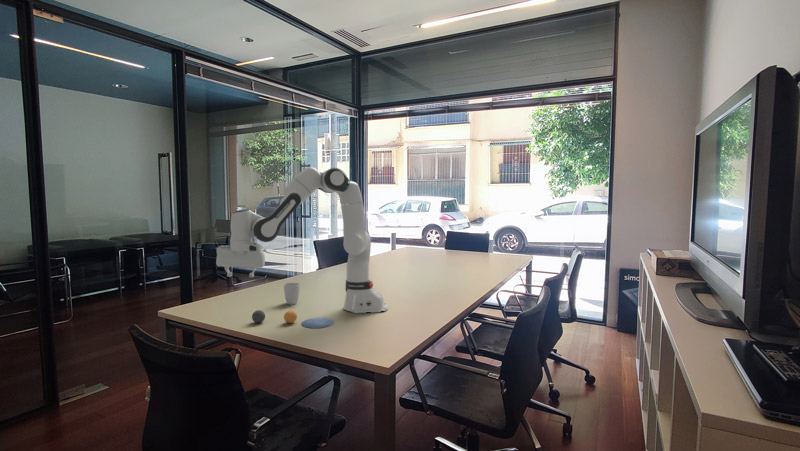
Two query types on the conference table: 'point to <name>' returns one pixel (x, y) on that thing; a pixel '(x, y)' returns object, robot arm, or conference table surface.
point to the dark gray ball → (258, 316)
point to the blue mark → (317, 323)
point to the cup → (291, 292)
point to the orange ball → (290, 316)
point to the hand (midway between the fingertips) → (240, 276)
